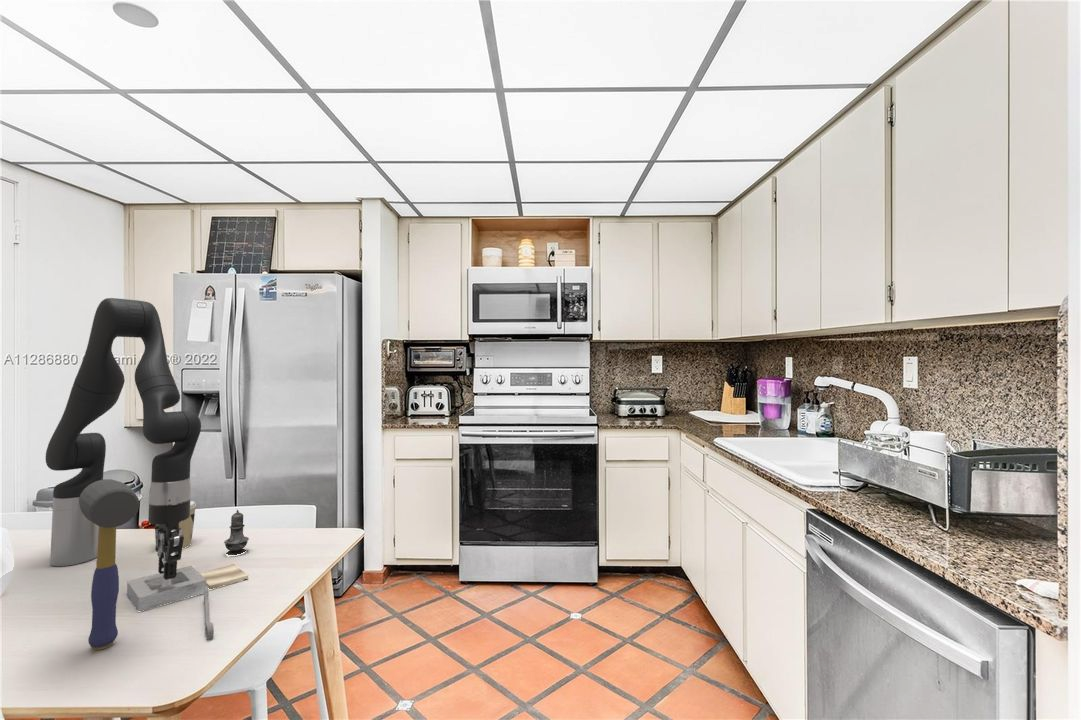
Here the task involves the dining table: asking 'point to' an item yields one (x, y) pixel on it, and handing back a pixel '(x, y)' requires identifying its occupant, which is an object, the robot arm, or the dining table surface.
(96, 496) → the rubber mallet
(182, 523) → the coffee cup
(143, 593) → the socket block
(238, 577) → the birch pad
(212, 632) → the combination wrench
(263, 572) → the dining table surface
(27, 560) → the dining table surface
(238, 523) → the salt shaker
